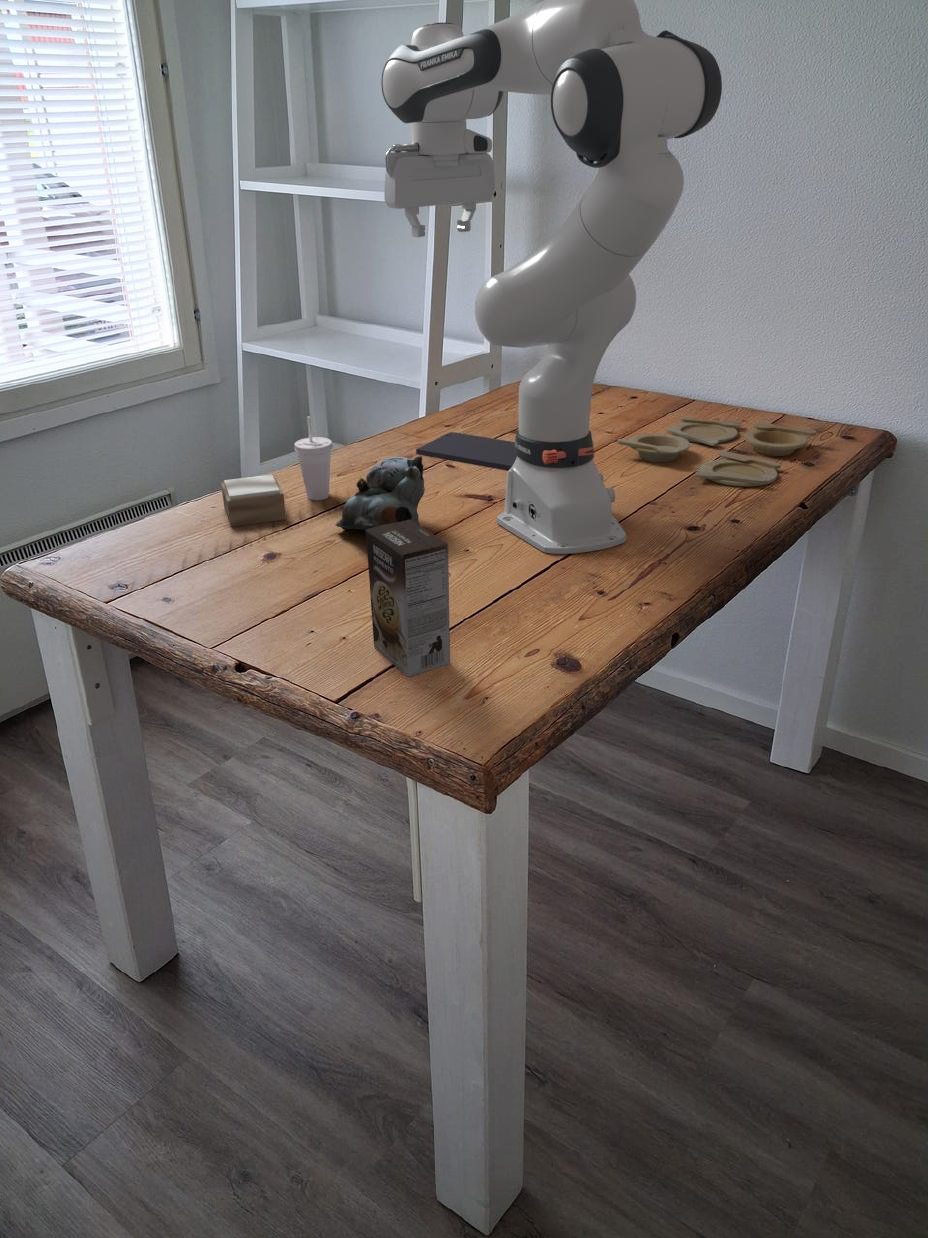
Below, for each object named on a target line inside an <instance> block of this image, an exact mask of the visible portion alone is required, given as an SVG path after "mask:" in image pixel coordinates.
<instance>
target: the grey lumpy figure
mask: <svg viewBox="0 0 928 1238" xmlns="http://www.w3.org/2000/svg"><path fill="white" fill-rule="evenodd" d="M423 476H424V465H423V455H418V456H417V457H415V458H414V459H410V458H408V457H402V456H393V457H387V458H384V459H383V460H382V462H380V463H378V464H375V465H374V466H373V467H372V468H371V469H370V470H369V472H368V473H367V475H366V477H365V479H364V478H361V477H360V478H358V481H357V482H356V488H357V490H358V491H357V492H356V493H354V495H353V496H352V497H351V498H349V499H347V501H346V502H345V504H344V507H342V514H341V519H339V520H338V521H337V522H336V523H334V525H335V527H339V528H340V529H342V530H344V531H345V530H349V529H350V530H352V529H353V530H367V529H370V528H374V527H378V526H382V525H385V524H391V523H399V522H403V521H406V520H410V519H411V520H412V521H414V522H415V523H417V524H418V525H420V520H419V514H418V507H419V503H420V501H421V500H422V498H423V496H424V495H425V489H426V487H425V479H424V477H423Z"/></svg>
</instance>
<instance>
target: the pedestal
mask: <svg viewBox="0 0 928 1238" xmlns="http://www.w3.org/2000/svg"><path fill="white" fill-rule="evenodd" d="M220 486H221V493H222V499H223V500H222V501H223V507H224V512H225V514H226V517H227V519H228V523H229V526H230V527H231V528H232V527H240V526H247V525H254V524H261V523H268V522H276V521H284V520H285V521H286V520H287V515H286V514H287V513H286V504H285V495H284V492H283V490H282V488H281V487H280V484H279V482H278V480H277V478H276V476H273V474H264V475H256V476H250V477H240V478H232V479H224V480H223V482H220Z"/></svg>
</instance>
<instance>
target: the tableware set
mask: <svg viewBox="0 0 928 1238" xmlns="http://www.w3.org/2000/svg"><path fill="white" fill-rule="evenodd" d="M741 425H742V421H738V420H713V419H706V418H705V419H704V418H696V417H689V416H682V417H680V422H678V423H676V424H673V425H672V426H671V427H667V428H666V430H665V433H653V432H652V433H641V434H636V435H634V436H632V437H630V438H629V439H626V438H618V439H617V444H618V445H621V446H622V445H623V446H627V447H630V449H632V450H635V451H636V452H637V453H638V454H639V458H640V459H642V460H644V461H648V462H652V463H669V462H672V461H674V460H676V459H677V458H678V456H679V454H681V453H684V452H686V451H688V450H689V448H690V447H691V443H697V444H698V443H699V444H705V445H708V446H711V447H716V446H718V445H719V443H727V442H729V441H732V440H735V439H736V438H737V437H738V435H739V434H738V430H737V429H736V428H740V426H741ZM752 425H753V427H754V428H755V429H752V430H749V431H748V432H746V433H745V434H744V440H745V442H746V443H748V444H750V445H751V446H754V449H755V451H756V452H757V453H758V454H759V453H760V454H761V455H766V456H772V457H782V456H783V457H785V456H789V455H791V454H792V453H793V452H794V451H795V450H796V449H800V448H802V447H805V446H806V445H807V443H808V439H807V437H806V436H809V437H811V436H812V437H814V436H817V431H816V430H814V429H806V428H798V427H797V428H796V427H789V426H782V425H781V426H780V425H776V424H773V423H770V422H755V423H753V424H752ZM690 442H691V443H690ZM718 456H719V457H722V459H721V458H720V459H714V460H711V461H707V462H705V463H703V464H701V466H700V469H697V470H696V472H695V474H694V477H696V478H701V479H705V480H709V481H712V482H715V483H718V484H721V485H726V486H732V487H733V486H734V487H747V488H748V487H762V486H765V485H768V484H772V483H773V482H775V481H776V480H777V478H778V471H777V470H779V469H780V468H781V466H782V465H781V463H778V462H774V461H770V460H766V459H761V458H757V457H753V456H747V455H744V454H741V453H739V454H738V453H735V452H730V451H726V450H720V451H719V453H718Z"/></svg>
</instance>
